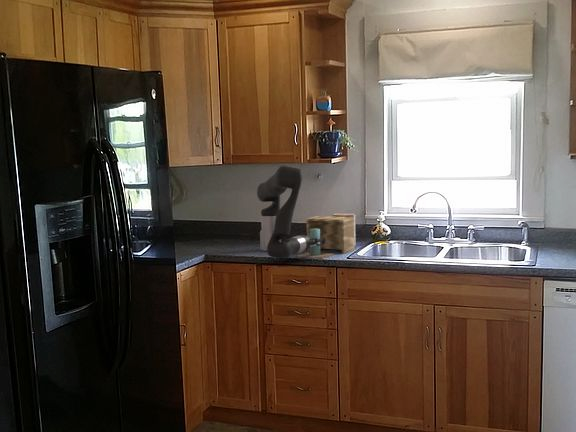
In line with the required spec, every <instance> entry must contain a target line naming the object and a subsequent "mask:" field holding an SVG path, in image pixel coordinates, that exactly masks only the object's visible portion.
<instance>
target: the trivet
mask: <svg viewBox="0 0 576 432" xmlns="http://www.w3.org/2000/svg"><path fill="white" fill-rule="evenodd" d="M334 255H335V253H330V252H329V253H327V252H320V255H318V256H312V255H310V251H307V252H304V253H303V252H302V253H301V254H300V253H299V254H297V255H295V258H296V257H297V258H311V259H321V260H322V259H326V258H328V257H333V256H334Z"/></svg>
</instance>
